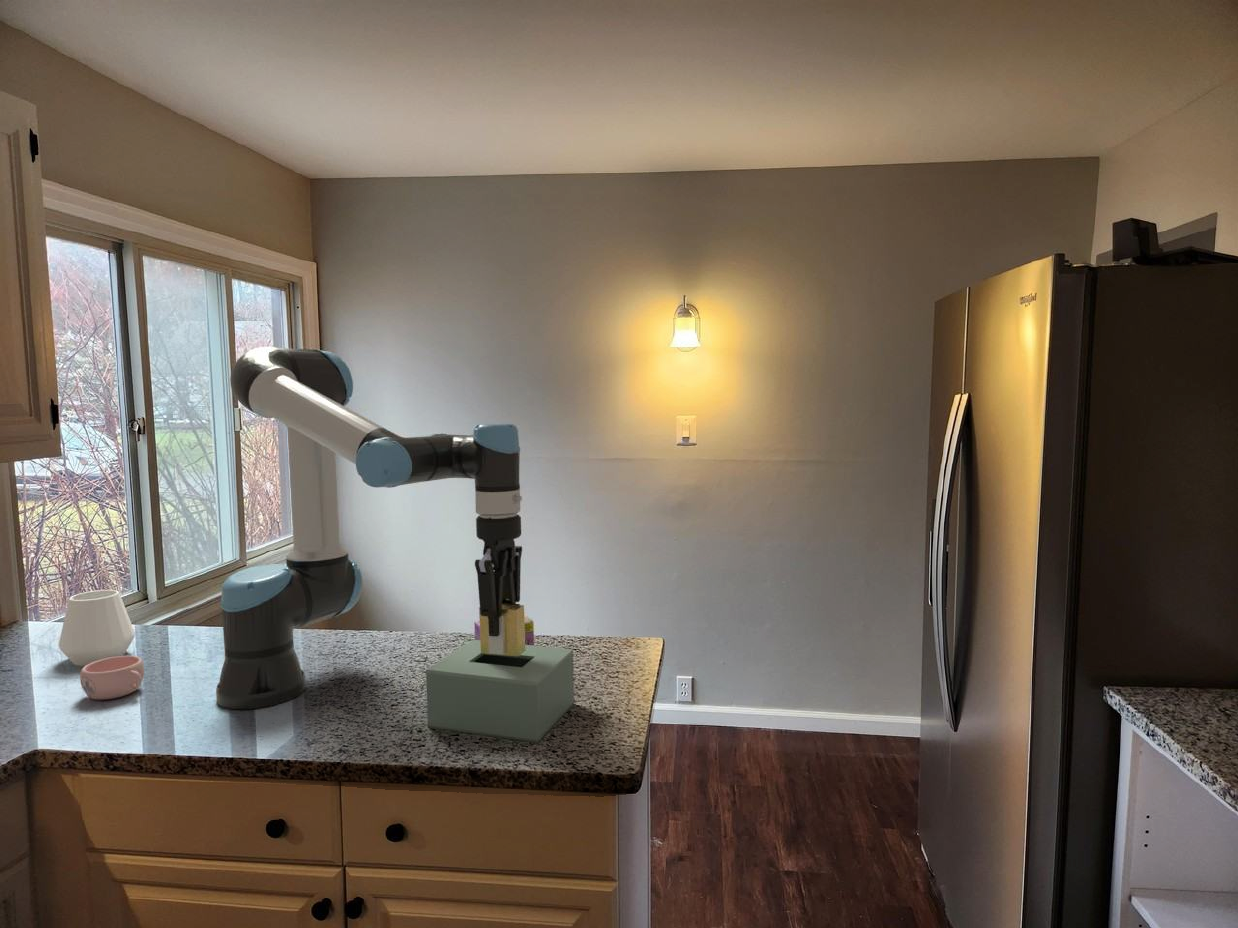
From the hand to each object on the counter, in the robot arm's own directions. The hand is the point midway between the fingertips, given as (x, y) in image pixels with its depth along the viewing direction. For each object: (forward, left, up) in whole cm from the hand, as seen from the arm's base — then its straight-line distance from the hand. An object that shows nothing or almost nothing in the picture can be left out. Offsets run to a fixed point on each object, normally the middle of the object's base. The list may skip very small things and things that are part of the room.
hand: (502, 649), depth 129 cm
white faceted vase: (-97, +2, -12) cm, 98 cm away
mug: (-74, -12, -12) cm, 76 cm away
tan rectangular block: (0, 0, 0) cm, 0 cm away
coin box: (0, 0, -12) cm, 12 cm away
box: (-7, +15, -12) cm, 20 cm away
